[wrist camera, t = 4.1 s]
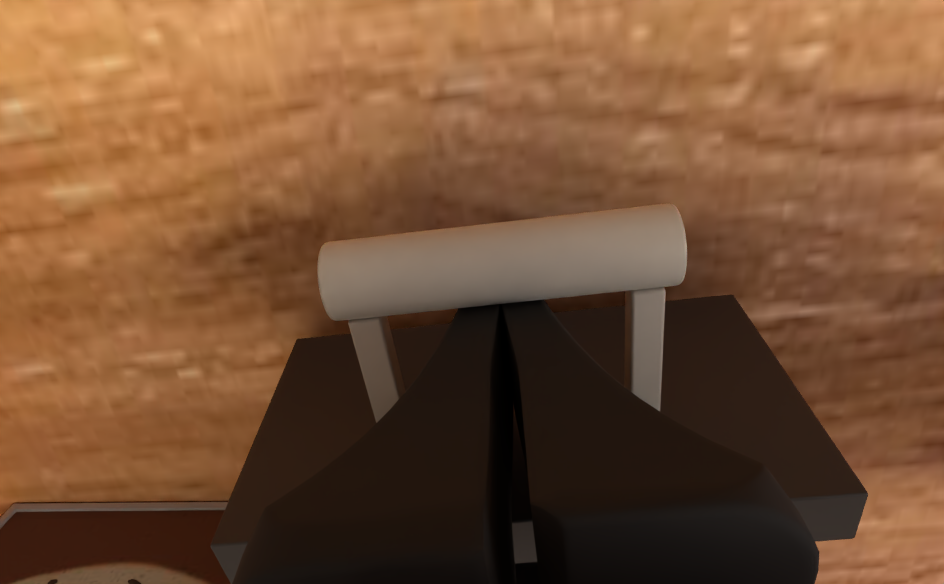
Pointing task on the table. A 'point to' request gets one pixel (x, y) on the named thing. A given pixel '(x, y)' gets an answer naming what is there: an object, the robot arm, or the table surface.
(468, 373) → the robot arm
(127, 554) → the food container
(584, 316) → the dark drawer with handle
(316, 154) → the table surface
